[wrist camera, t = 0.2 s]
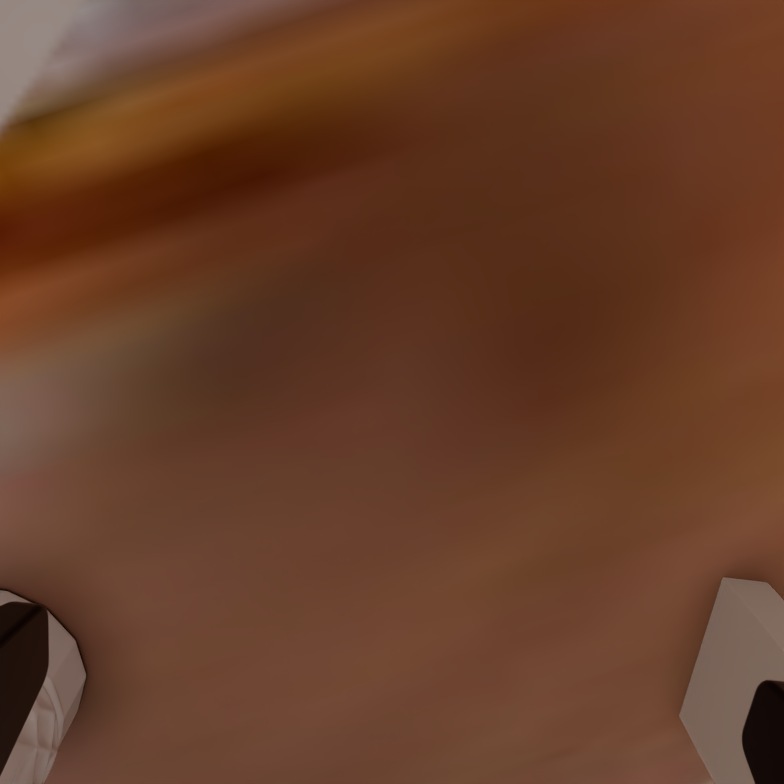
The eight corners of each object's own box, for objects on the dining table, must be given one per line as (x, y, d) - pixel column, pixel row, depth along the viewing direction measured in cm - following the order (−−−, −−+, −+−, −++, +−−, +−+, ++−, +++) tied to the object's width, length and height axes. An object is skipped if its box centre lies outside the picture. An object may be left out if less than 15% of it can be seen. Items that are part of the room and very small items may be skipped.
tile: (724, 721, 27) (837, 906, 20) (678, 716, 26) (777, 901, 20) (771, 582, 25) (913, 736, 18) (722, 576, 25) (847, 729, 18)
